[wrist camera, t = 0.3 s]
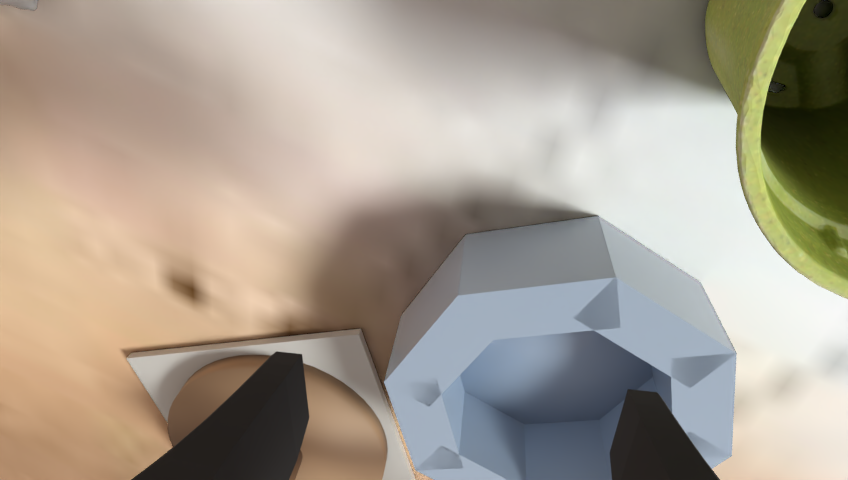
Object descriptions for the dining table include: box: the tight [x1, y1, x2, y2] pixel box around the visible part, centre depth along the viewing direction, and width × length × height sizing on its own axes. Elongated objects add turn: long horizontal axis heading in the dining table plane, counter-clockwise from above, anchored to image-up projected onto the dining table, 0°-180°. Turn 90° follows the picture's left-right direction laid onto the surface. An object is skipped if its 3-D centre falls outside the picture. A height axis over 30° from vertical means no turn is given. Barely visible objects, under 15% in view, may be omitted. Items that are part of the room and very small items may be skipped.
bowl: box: [384, 216, 737, 480], centre depth 22 cm, size 12×12×4 cm
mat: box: [126, 329, 416, 480], centre depth 29 cm, size 12×12×1 cm
